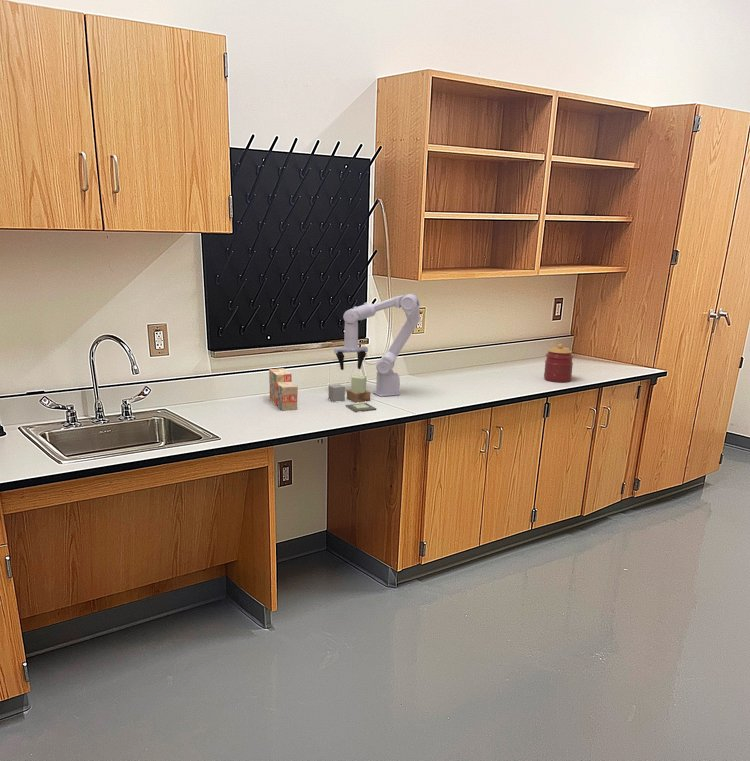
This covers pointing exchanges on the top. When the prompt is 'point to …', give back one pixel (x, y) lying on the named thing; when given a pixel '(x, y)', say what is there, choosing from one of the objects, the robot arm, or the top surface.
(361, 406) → the card
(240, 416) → the top surface
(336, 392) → the slate grey block
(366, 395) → the walnut base block
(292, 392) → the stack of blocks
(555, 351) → the canister
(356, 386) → the sage green block
